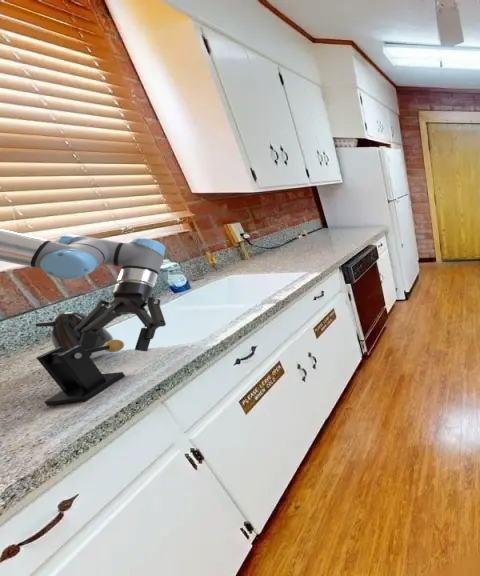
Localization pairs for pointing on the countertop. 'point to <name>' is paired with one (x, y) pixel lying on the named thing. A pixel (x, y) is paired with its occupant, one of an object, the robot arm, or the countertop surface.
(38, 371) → the countertop surface
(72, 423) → the countertop surface
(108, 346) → the tap lever
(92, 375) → the black lever base
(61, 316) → the dark glossy oval piece
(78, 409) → the countertop surface
